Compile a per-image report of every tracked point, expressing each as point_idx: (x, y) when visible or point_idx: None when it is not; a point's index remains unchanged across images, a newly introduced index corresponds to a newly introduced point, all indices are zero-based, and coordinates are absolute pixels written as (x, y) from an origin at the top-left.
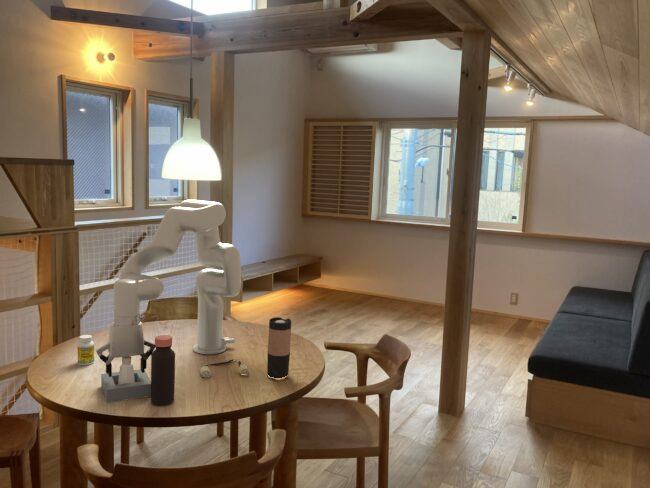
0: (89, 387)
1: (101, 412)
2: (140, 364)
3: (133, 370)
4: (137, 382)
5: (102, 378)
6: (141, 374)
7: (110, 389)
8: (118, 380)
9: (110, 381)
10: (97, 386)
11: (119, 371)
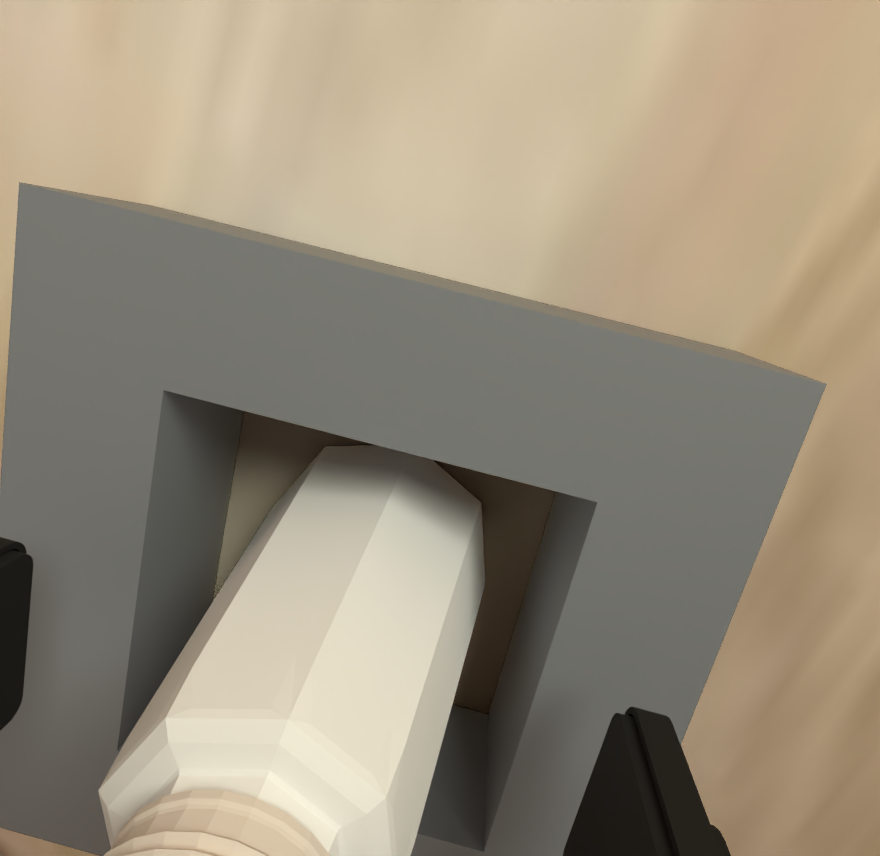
0: (5, 156)
1: (10, 847)
2: (640, 791)
3: (426, 787)
4: (424, 850)
5: (21, 361)
6: (630, 614)
7: (30, 832)
8: (225, 584)
9: (87, 598)
10: (106, 183)
11: (160, 686)
